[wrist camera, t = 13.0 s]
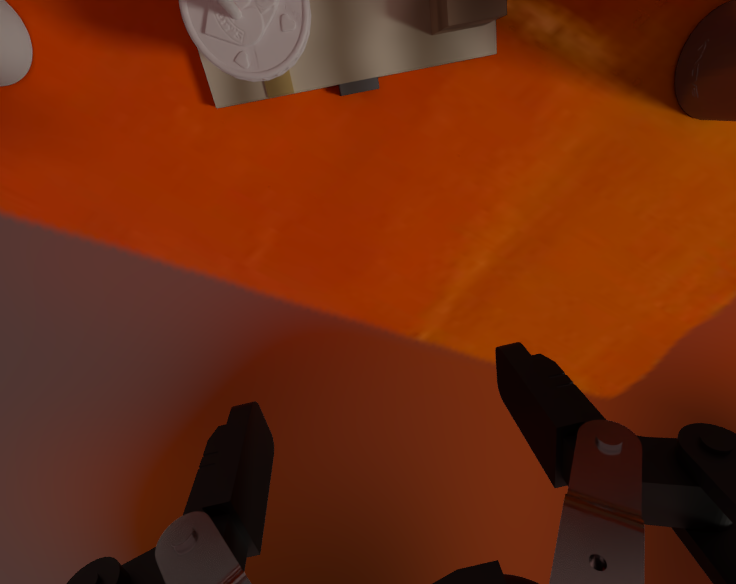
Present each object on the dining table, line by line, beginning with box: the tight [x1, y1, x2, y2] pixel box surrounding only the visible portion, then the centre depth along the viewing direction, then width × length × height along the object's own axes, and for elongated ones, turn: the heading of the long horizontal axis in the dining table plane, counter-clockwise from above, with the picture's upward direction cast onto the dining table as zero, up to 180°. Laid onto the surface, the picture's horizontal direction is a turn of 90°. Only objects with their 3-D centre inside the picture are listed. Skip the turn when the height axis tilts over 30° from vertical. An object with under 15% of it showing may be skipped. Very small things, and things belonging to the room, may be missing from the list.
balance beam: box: [197, 0, 507, 108], centre depth 27 cm, size 22×10×5 cm, turn 100°
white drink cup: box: [179, 0, 311, 82], centre depth 22 cm, size 6×6×14 cm
